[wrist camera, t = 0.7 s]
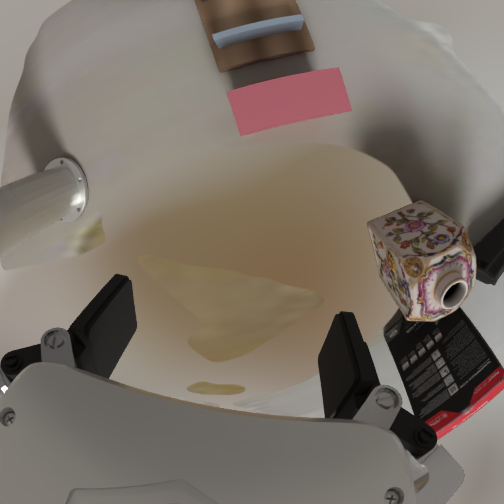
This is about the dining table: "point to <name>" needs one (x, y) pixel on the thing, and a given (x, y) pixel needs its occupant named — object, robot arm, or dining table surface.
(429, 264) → the decorative jar
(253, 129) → the red block
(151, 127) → the dining table surface
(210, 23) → the shelf board
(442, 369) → the graphics card box
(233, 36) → the divider
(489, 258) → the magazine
